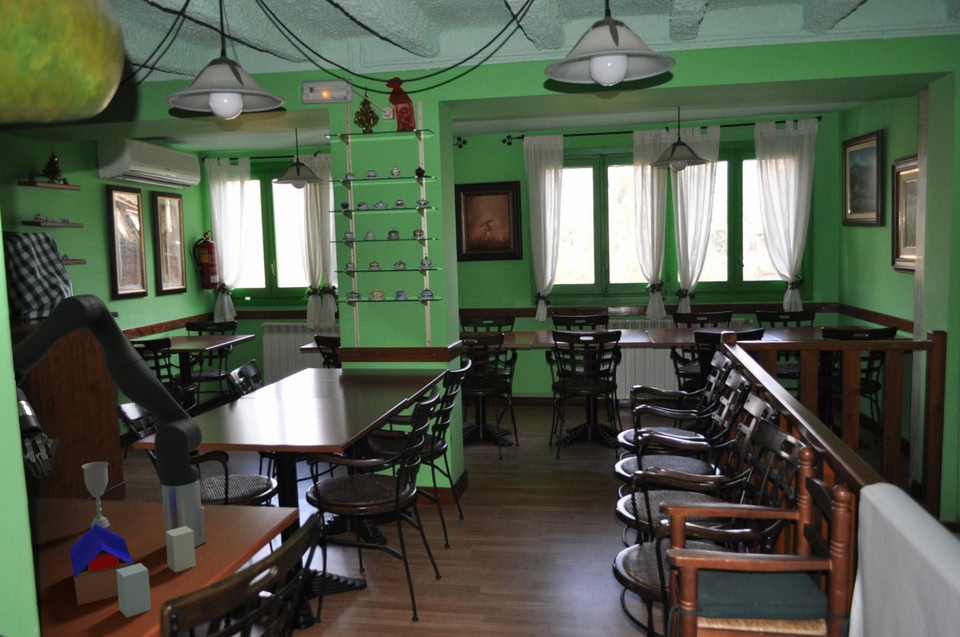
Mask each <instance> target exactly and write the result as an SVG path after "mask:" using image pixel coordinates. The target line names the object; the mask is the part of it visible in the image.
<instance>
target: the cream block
mask: <svg viewBox="0 0 960 637" xmlns="http://www.w3.org/2000/svg"><path fill="white" fill-rule="evenodd" d="M166 546H167V548H166V557H167V558H166V559H167V567H168V568H169V569H170V570H171V571H173V572H174V573H175V572H176V573H178V572H182V571H185V569H186V570H189V569H192V568H195V567H196V566H197V564H196V562H197V561H196V549H195V548H196V547H195V545H194V531H193V530H191V529H190V528H188V527H187V526H184V527H180V528H176V529H172V530H169V531H166V536H165V547H166ZM194 566H195V567H194ZM191 567H192V568H191ZM188 568H189V569H188Z"/></svg>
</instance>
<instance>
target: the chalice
mask: <svg viewBox="0 0 960 637" xmlns="http://www.w3.org/2000/svg"><path fill="white" fill-rule="evenodd" d="M109 464H110V463H109V462H108V461H94V462H92V461H91V462H89V463H85V464H82V466H81V468H82V469H83V476H84V484H85V486H86V489H87V490H88V491H89V494H90V495H91V496H92V497H94V498H95V500H96V501H95V504H94V505H96V509H95V512H96V513H97V515H96V517H95V518H93V520H92V523H91V526H90V527H89V528H90V529H91V528H92V527H93V526H94V525H95V524H97V525H99V526H101V527H103V528H105V529H106V528H107V527H110V525H111V524H110V522H109V520H108V518H107V517H106V516H103V515H102V510H103V508H102V507H101V504H102V502H101V499H100V498H101V496H103V495H104V493H105V491H106V489H107V485H108V482H109V473H108V466H109Z"/></svg>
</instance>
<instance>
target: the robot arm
mask: <svg viewBox="0 0 960 637" xmlns="http://www.w3.org/2000/svg"><path fill="white" fill-rule="evenodd" d="M84 330H88V331H89V332H90V333H91V334H92V335H93V337H94V338H95V339H96V341H97V342H98V344H99V345H100V347H101V349H102V352H103V357H104V363H105V368H106V372H107V375H108V377H109V378H110V379H111V381H112V382H113V383H114V385H115V386H116V387H117V389H118V390H119V392H120V393H121V394H123V396H125V397H126V398H127V399H128V400H130V401H131V402H133V403H134V404H136V405H138V406H139V407H141V408H142V409H144V410H146V411H147V412H149V413H150V414H151V415H152V416H153V417H154V418H155V420H157V422H158V423H159V424H160V425H161V427H159V429H158V430H157V431H156V433H155V436H154V454H155V463H156V468H157V470H156V471H157V473H158V475H159V477H160V479H161V480H160V482H161V494H162V506H163V508H162V509H163V520H164V522H163V523H164V534H165V537H166V531H169V530H172V529H176V528H180V527H184V526H187V527H188V528H190V529H191V530H193V531H194V545H195V548H197V547H199V546H201V545H202V544H204V543H207V534H206V533H207V532H206V520H205V519H206V518H205V508H204V506H202V503H201V502H202V500H201V499H202V498H201V486H200V484H201V483H200V472H199V469H198V468H197V467H196V466H193V465H192V464H191V457H190V453H191V452H193V451H195V450H196V449H197V448H199V446H200V445H201V443H202V439H203V438H202V437H203V434H202V431H201V430H202V429H200V426H199V425H198V423H197V422H196V421H195V419H193V417H192V416H190V414H189V413H188V412H186V410H185V409H183V407H182V406H181V405H180V404H179V403H178V402H177V401H176V400H175V399H174V397H173V396H172V394H171V393H170V392H169V391H168V390H167V388H166V387H165V385H164V384H163V383H162V382H161V380H160V379H159V378H158V377H157V375H156V374H155V373H154V371H153V370H152V369H151V367H150V366H149V365H148V363H147V362H146V361H145V360H144V358H143V357H142V355H140V354H139V351H137V350H136V348H135V347H134V345H133V344H132V343H131V341H130V340H129V339H128V337H127V336H126V335H125V334H124V332H123V331H122V329H121V327H120V326H119V324H118V323H117V321H116V319H115V317H114V315H112V313H111V311H110V310H109V307H108V306H107V304H106V303H105V302H104V301H103V299H101V298H100V297H99V296H97V295H94V294H92V293H91V294H89V293H85V294H77V295H71V296H68V297H65V298H64V299H62V300H61V301H60V302H59V303H57V305H55V307H54V309H53V310H52V311H51V312H50V313H49V314H48V315H47V317H46V318H45V319H44V320H43V321H42V322H41V323H40V324H39V325H38V326H37V328H35V329H34V330H33V331H32V332H31V333H30V334H28V335H27V336H26V337H24V338H23V339H22V340H21V341H20V342H18V344H16V345H15V346H13V360H14V371H15V380H16V389H17V401H18V411H19V422H20V430H21V439H22V449H23V455H22V456H23V460H24V467H23V468H25V467H28V468H30V470H31V473H32V475H33V476H34V477H36V479H41V478H42V475H43V473H44V475H45V477H49V476H50V475H51V473H52V471H53V467H52V465H51V462H52V461H53V458H54V456H55V454H56V451H57V447H58V444H59V442H60V439H59V438H58V437H55V438H54V439H52V438H49V437H48V436H47V434H45V433H44V430H43V428H42V427H41V424H40V421H39V420H38V418H37V416H36V413H35V411H34V410H33V408H32V406H31V404H30V402H29V401H28V398H27V397H26V395H25V392H24V391H23V390H22V389H21V387H18V386H20V385H21V383H22V382H23V381H24V379H25V377H26V376H27V375H28V373H29V371H30V370H31V369H32V368H34V367H35V366H36V365H37V364H39V363H40V362H41V361H43V360H44V359H45V358H46V357H47V356H48V355H49V353H50V352H51V350H52V349H53V347H54V345H55V344H56V342H58V341H59V340H60V339H62V338H65V337H66V336H67V335H69V334H72V333H73V332H76V331H77V332H78V331H84ZM46 445H47V446H48V448H49V452H48V454H47V452H46V448H45V446H46ZM37 459H38V461H39V462H40V464H39V462H38V461H37ZM165 548H166V549H167V546H166V545H165Z"/></svg>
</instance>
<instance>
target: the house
mask: <svg viewBox="0 0 960 637" xmlns="http://www.w3.org/2000/svg"><path fill="white" fill-rule="evenodd" d="M127 545H128V544H127V543H126V540H125V538H124V537H122V536H121V535H119V534H117V533H114V532H113V531H111V530H109V529H107V528H106V527H105V528H103V527H101V526H99V525H97V524H95V525H94V526H93V527H92V528H90V529H89V530H87V531H86V532H85V534H83V535H82V536H81V537H80V538H79V539H78V540H77V541H76V542H75V543H74V545H72V546H71V547H70V548H69V553H70V555H69V556H70V559H71V560H70V561H71V567H72V574H73V575H74V576H73V580H74V581H73V582H75V583H74V588H76V589H75V593H76V594H75V595H76V601H77V606H80V605H81V606H82V605H85V604H88V603H89V604H90V603H93V602H98V601H101V600H107V599H110V598H114V597H118V585H117V572H116V570H118V569H121V568H125V567H128V566H132V565H135V564H134V561H133V559H132V556H131V554H130V551H129V549H128V546H127Z"/></svg>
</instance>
